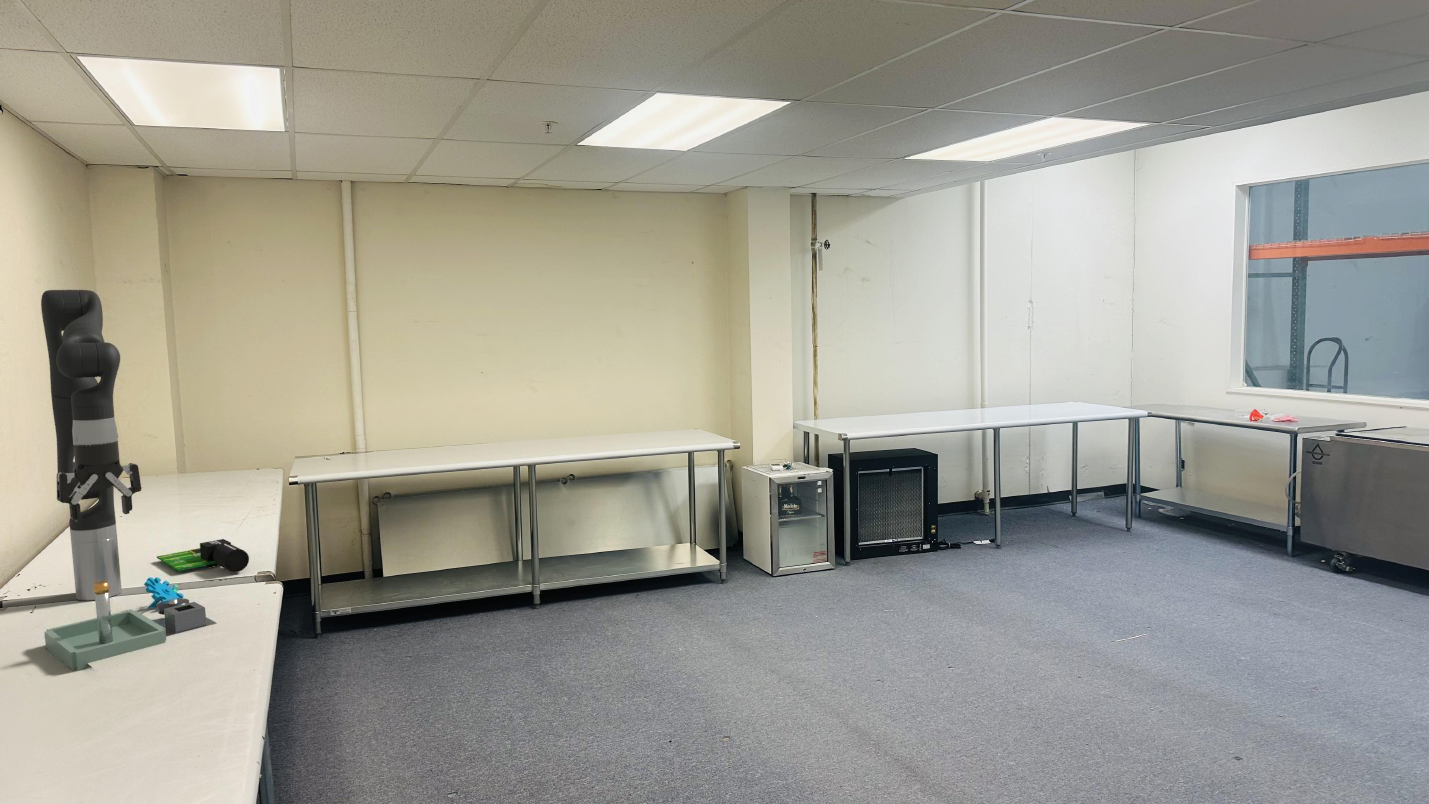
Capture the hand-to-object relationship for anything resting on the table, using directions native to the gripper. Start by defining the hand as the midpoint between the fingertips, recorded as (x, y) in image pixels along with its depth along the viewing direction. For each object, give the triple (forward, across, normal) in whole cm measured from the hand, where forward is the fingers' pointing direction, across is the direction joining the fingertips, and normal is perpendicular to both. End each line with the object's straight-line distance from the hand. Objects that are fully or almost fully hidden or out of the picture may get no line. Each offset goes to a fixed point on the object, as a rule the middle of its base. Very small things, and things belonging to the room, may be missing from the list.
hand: (102, 517), depth 183 cm
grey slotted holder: (+27, -12, +3) cm, 29 cm away
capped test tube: (+26, +2, +3) cm, 26 cm away
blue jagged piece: (+27, -15, -14) cm, 34 cm away
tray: (+26, +2, +3) cm, 27 cm away
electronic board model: (+28, -34, -44) cm, 62 cm away
